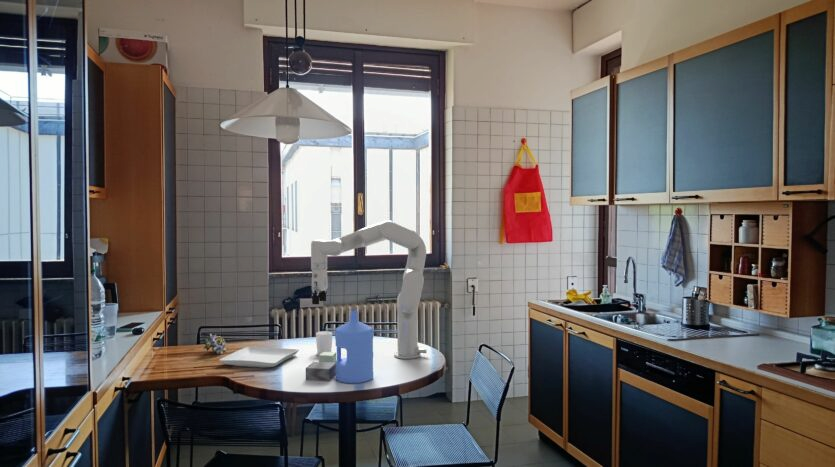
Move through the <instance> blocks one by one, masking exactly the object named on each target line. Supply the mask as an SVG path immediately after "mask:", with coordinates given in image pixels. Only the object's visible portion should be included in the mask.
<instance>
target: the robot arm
mask: <svg viewBox="0 0 835 467" xmlns="http://www.w3.org/2000/svg"><path fill="white" fill-rule="evenodd" d="M383 241H389V242H391V243H394V244H395V245H399V246H401V247H403V248H405V249H407V252H408V255H407V259H406V264H405V268H404V272H403V274H402V285H401V289H400V292H399V293H398V295H397V298H396V307H397V310H396V311H397V313H396V314H397V323H396V324H397V325H396V326H397V351H395V352H394V356H393V357H395V358H396V359H402V360H404V359H405V360H411V359H418V358H420V357H421V356H422V355H421V354H427V352H428V351H427V348H422V347H421V348H420V345H418V307H419V305H420V300H421V297H422V292H423V288H424V282H425V279H424V278H425V277H424V275H423V274H424V270H425V263H426V259H427V248H426V244H425V241H424V240H423V238H422V237H421V236H420V235H419V234H418V232H416V231H414V230H412V229H410V228H406V227H404V226H402V225H400V224H397V223H396V222H393V221H392V220H384V221H381V222H378V223H375V224H372V225H369V226H366V227H363V228H360V229H358V230H356V231H354V232H351V233H349V234H345V235H342V236H340V237H337V238H334V239H332V240H325V239H314V240H312V241H311V243H310V270H311V304H312V305H319V304H320V302H326V301H327V290H328V287H329V280H328V278H329V277H328V256H333V257H338V256H340V255H341V254H343V253H345V252H348V251H352V250H355V249H359V248H365V247H369V246H371V245H374V244H377V243H380V242H383Z"/></svg>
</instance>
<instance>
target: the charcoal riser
mask: <svg viewBox="0 0 835 467" xmlns="http://www.w3.org/2000/svg"><path fill="white" fill-rule="evenodd" d="M335 373H336V363H331V362H319V361H312V362H311V363H310V364H309V365H308V366H306V367H305V381H314V382H315V381H317V382H330V381H331V380H332V379H334V378H335Z"/></svg>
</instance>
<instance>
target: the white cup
mask: <svg viewBox="0 0 835 467" xmlns="http://www.w3.org/2000/svg"><path fill="white" fill-rule="evenodd" d="M315 338H316V351H317V355H320V354H321V353H323V352H332V347H333V331H328V330H327V331H326V330H323V331H317V332H316V333H315Z"/></svg>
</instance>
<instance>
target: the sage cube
mask: <svg viewBox="0 0 835 467" xmlns="http://www.w3.org/2000/svg"><path fill="white" fill-rule="evenodd" d="M336 361H337V351H336V352H335V351H331V352H323V353H321V354H318V362H331V363H336Z"/></svg>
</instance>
